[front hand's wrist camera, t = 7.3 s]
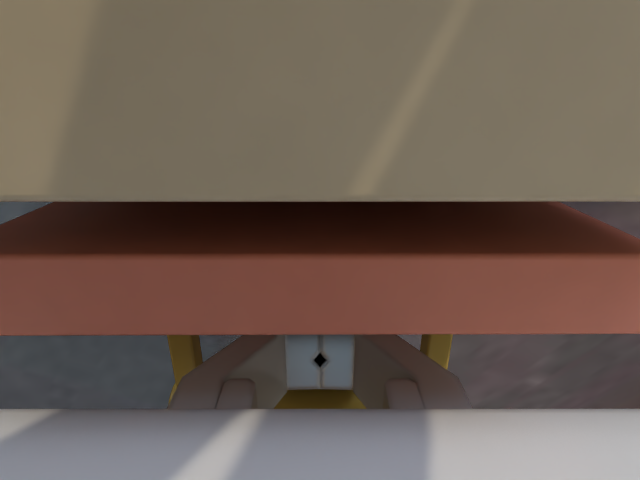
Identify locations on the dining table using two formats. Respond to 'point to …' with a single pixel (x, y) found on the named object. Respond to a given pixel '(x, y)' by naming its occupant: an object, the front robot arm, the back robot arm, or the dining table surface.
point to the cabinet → (319, 100)
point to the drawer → (315, 274)
